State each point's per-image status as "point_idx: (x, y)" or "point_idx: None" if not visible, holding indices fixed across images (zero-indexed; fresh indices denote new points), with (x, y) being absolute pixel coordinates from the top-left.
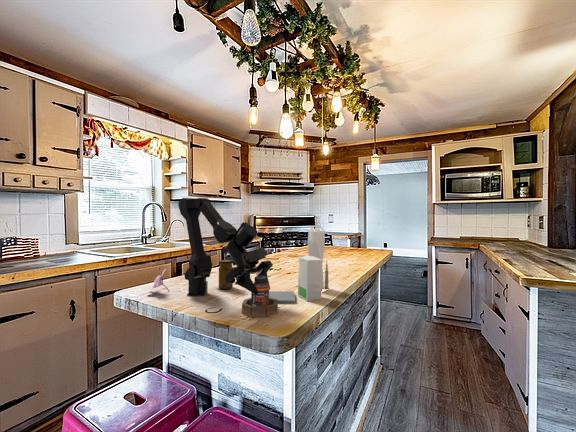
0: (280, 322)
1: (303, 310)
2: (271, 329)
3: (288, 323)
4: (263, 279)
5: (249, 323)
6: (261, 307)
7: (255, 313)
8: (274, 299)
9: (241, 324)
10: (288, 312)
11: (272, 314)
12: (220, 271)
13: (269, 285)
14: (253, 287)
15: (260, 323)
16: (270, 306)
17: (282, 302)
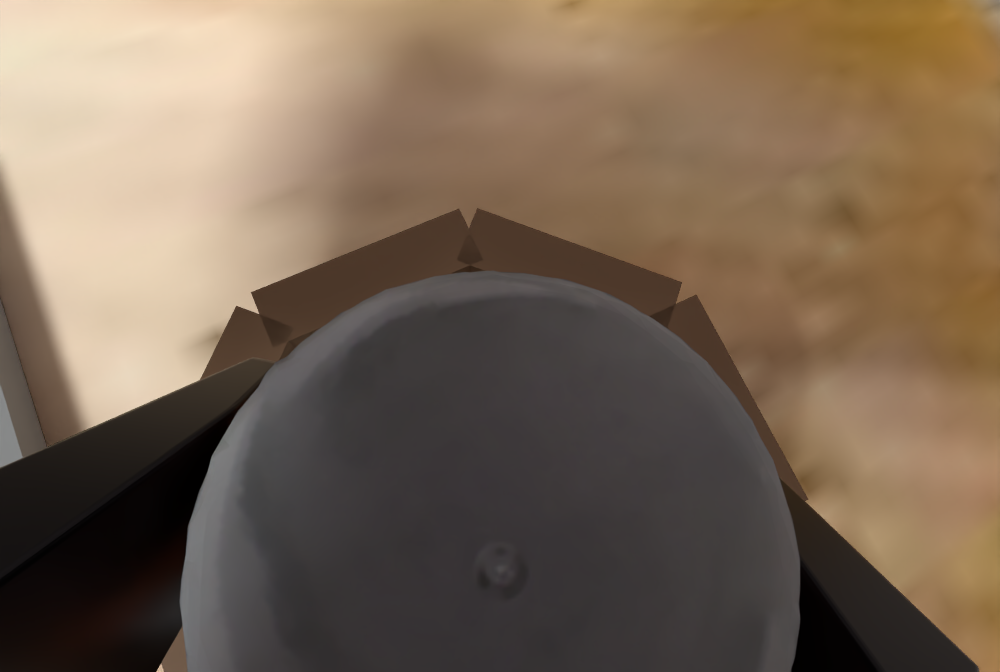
0: (706, 117)
1: (230, 18)
2: (911, 126)
3: (688, 36)
4: (630, 323)
5: (916, 417)
6: (717, 361)
7: None
8: (246, 356)
9: (994, 490)
10: (371, 151)
11: None
12: None
13: (200, 384)
14: (880, 573)
15: (846, 299)
16: (610, 257)
17: (12, 368)
